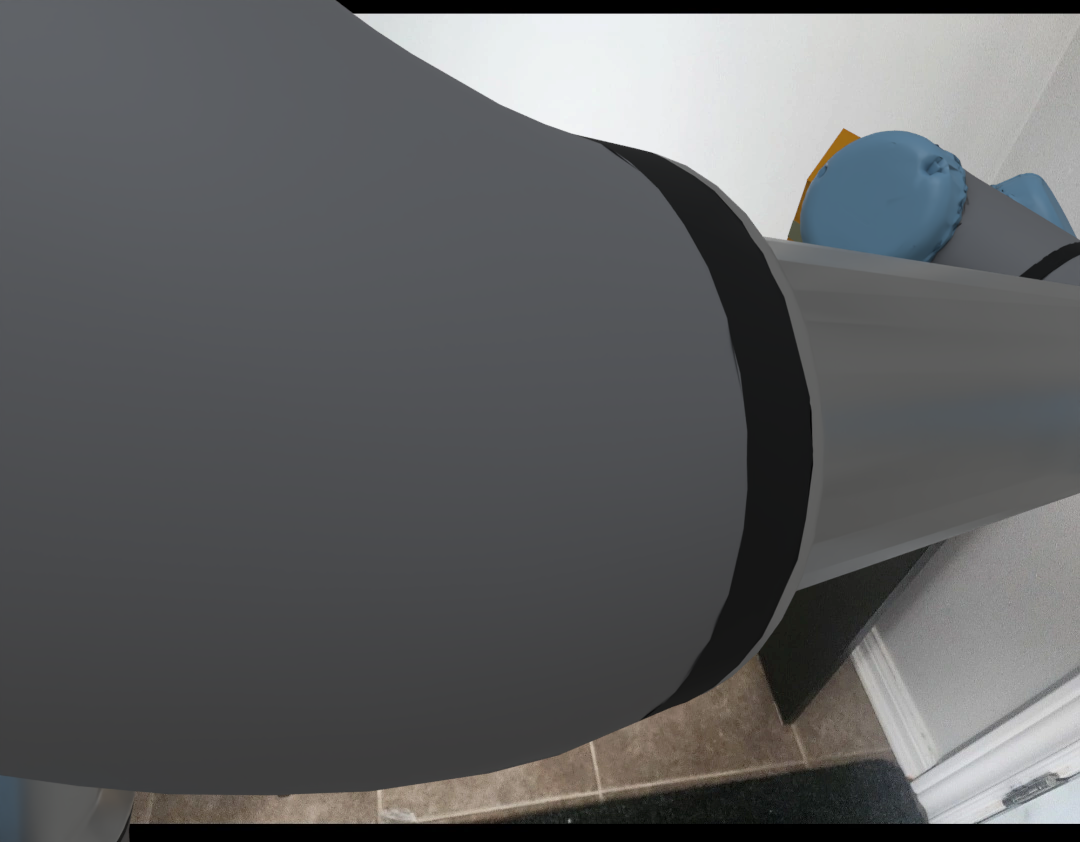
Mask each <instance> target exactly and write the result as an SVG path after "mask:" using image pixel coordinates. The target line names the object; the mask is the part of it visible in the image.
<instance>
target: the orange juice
mask: <svg viewBox="0 0 1080 842" xmlns="http://www.w3.org/2000/svg"><path fill="white" fill-rule="evenodd" d="M859 138H862V137H861V136H859V135H858V134H855V133H853V132H851V131H850V130H848V129H846V128H844V127H843V128H842V130H840V132H839V133H838V135H837V136H836V138H835V139H834V140H833V142H832V144H831V145H830V146H829V147H828V149H827V150H826V151H825V154H824V155H822V158H821V159H819V162H818V163H817V164H816V165H815V167H814V169H813V170H812V172H810V175H809V176H808V177H807V179H806V182H805V185H804V187H803V190H802V193H801V197H800V199H799V202H798V206H797V209H796V212H795V214H794V218H793V220H792V222H791V224H790V228H789V231H788V233H787V238H786V240H789V241H795V242H802V243H803V241H802V238H801V232H800V214H801V209H802V204H803V201H804V198H805V195H806V192H807V190H808V188H809V186H810V184H811V182H812V181H813V180H814V178H815V176H816V175H817V173H818V171H819V170H820V169H821V168H822V167H823V166H824V165H825V164H826V162H827V161H828V160H829V159H830V158H831V157H832V156H833V155H834V154H835V153H837V152H838V151H839V150H841V149H842V148H844V147H845V146H846V145H848V144H850V143H851V142H853V141H855V140H857V139H859Z"/></svg>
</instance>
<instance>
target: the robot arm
mask: <svg viewBox="0 0 1080 842" xmlns="http://www.w3.org/2000/svg"><path fill="white" fill-rule="evenodd" d="M800 232H801V238H802V241H803V243H802V242H795V241H789V240H787V239H782V238H776V237H768V236H763V235H762V233H761V231H759V229H758V227H757V226H756V225H755V223H754V222H753V221H752V220H751V218H750V216H748V214H747V213H746V212H745V211H744V210H743V209H742V208H741V207H740V206H739V205H738V204H737V203H736V202H735V201H734V200H733V199H732V198H731V197H730V196H729V195H728V194H727V193H725V192H724V191H723V189H721V188H720V187H719V186H718V185H717V184H715V183H714V182H713V181H711V180H709V179H708V178H706V177H705V176H703V175H702V174H700V173H699V172H697V171H696V170H694V169H692V168H691V167H690V166H688V165H686V164H683V163H681V162H679V161H676V160H674V159H671V158H668V157H666V156H664V155H661V154H658V153H656V152H652V151H648V150H645V149H640V148H636V147H632V146H628V145H624V144H619V143H614V142H610V141H606V140H601V139H597V138H593V137H589V136H584V135H580V134H575V133H571V132H569V131H565V130H563V129H560V128H557V127H554V126H552V125H550V124H549V125H548V124H546V123H544V122H541V121H539V120H537V119H535V118H532V117H530V116H528V115H525V114H523V113H521V112H518V111H515V110H513V108H509V107H507V106H504V105H503V104H500V103H499V102H497V101H495V100H493V99H491V98H490V97H489V96H486V95H485V94H483V93H481V92H480V91H478V90H476V89H475V88H472V87H470V86H469V85H467V84H466V83H464V82H462V81H460V80H458V79H457V78H455V77H453V76H451V75H450V74H448V73H446V72H445V71H443V70H441V69H440V68H438V67H436V66H434V65H432V64H430V63H429V62H427V61H426V60H423V59H422V58H420V57H419V56H417V55H415V54H413V53H411V52H410V51H409V50H407V49H406V48H404V47H402V46H401V45H399V44H398V43H396V42H395V41H393V40H392V39H391V38H389V37H387V36H386V35H384V34H383V33H381V32H380V31H378V30H376V29H375V28H374V27H372V26H371V25H370V24H368V23H367V22H366V21H364V20H362V19H361V18H360V17H358V16H357V15H356V14H354V13H353V12H352V11H350V10H349V9H348V8H347V7H345V6H344V5H342V4H341V3H340V2H339V1H337V0H0V842H130V826H131V819H132V814H133V809H134V803H135V798H136V792H139V793H150V794H159V795H160V794H161V795H183V796H184V795H187V796H188V795H191V796H192V795H194V796H195V795H197V796H198V795H200V796H287V795H288V796H289V795H313V794H315V795H316V794H339V793H340V794H341V793H342V794H343V793H366V792H369V793H370V792H376V791H381V790H389V789H390V790H391V789H397V788H401V787H409V786H416V785H422V784H429V783H434V782H435V783H436V782H442V781H449V780H455V779H461V778H467V777H475V776H482V775H487V774H488V775H489V774H492V773H496V772H500V771H501V772H502V771H505V770H508V769H512V768H515V767H519V766H525V765H528V764H530V763H531V764H532V763H535V762H539V761H542V760H546V759H547V760H548V759H551V758H554V757H558V756H562V755H563V754H565V753H568V752H570V751H572V750H575V749H577V748H579V747H582V746H584V745H586V744H589V743H592V742H594V741H596V740H598V739H601V738H603V737H605V736H608V735H610V734H613V733H615V732H617V731H620V730H622V729H624V728H627V727H629V726H632V725H634V724H637V723H639V722H641V721H643V720H646V719H648V718H650V717H653V716H655V715H658V714H660V713H662V712H664V711H667V710H670V709H672V708H674V707H677V706H680V705H683V704H686V703H688V702H690V701H692V700H694V699H696V698H697V697H700V696H702V695H705V694H707V693H708V692H710V691H712V690H713V689H715V688H717V687H718V686H720V685H722V684H723V683H724V682H727V680H730V679H731V678H732V677H734V676H735V675H736V674H737V673H738V672H739V671H740V670H741V669H742V668H743V667H745V665H746V664H747V663H749V661H751V660H752V659H753V658H754V657H755V656H756V655H757V654H758V653H759V652H760V651H761V649H762V648H763V647H764V645H765V644H766V642H767V641H768V640H769V638H770V637H771V635H772V634H773V633H774V631H775V630H776V629H777V627H778V626H779V624H780V623H781V621H782V620H783V618H784V616H785V614H786V612H787V610H788V608H789V606H790V604H791V602H792V600H793V598H794V596H795V594H796V592H797V591H800V590H803V589H806V588H809V587H812V586H815V585H818V584H821V583H823V582H827V581H829V580H832V579H833V580H834V579H836V578H838V577H841V576H843V575H847V574H850V573H852V572H856V571H859V570H862V569H864V568H868V567H870V566H873V565H876V564H879V563H882V562H885V561H887V560H891V559H893V558H896V557H899V556H902V555H905V554H908V553H911V552H914V551H916V550H919V549H922V548H925V547H928V546H931V545H933V544H934V545H935V544H937V543H940V542H942V541H946V540H948V539H951V538H955V537H957V536H960V535H963V534H965V533H969V532H971V531H974V530H977V529H980V528H983V527H986V526H989V525H992V524H994V523H997V522H1001V521H1003V520H1006V519H1009V518H1012V517H1015V516H1018V515H1020V514H1024V513H1027V512H1029V511H1033V510H1035V509H1038V508H1040V507H1043V506H1047V505H1049V504H1052V503H1056V502H1058V501H1061V500H1064V499H1067V498H1070V497H1074V496H1075V495H1078V494H1080V238H1078V237H1077V235H1076V233H1075V231H1074V229H1073V227H1072V225H1071V223H1070V221H1069V219H1068V217H1067V216H1066V213H1065V212H1064V210H1063V207H1062V206H1061V205H1060V203H1059V200H1058V199H1057V197H1056V196H1055V194H1054V192H1053V191H1052V189H1051V188H1050V186H1049V185H1048V183H1047V181H1045V179H1044V178H1043V177H1042V176H1040V175H1039V174H1037V173H1034V172H1025V173H1020V174H1017V175H1015V176H1012V177H1011V178H1009V179H1006V180H1003V181H1001V182H999V183H997V184H988V183H987V182H985V181H983V180H981V179H980V178H978V177H977V176H975V175H974V174H972V173H971V172H969V171H968V170H967V169H965V168H964V167H963V165H962V163H961V160H960V158H959V157H957V155H955V154H954V153H953V152H950V151H948V150H946V149H943V148H942V147H940V144H937V143H934V142H933V141H931V140H930V139H928V137H925V136H924V135H920V134H917V133H914V132H910V131H905V130H883V131H882V130H881V131H878V132H877V131H876V132H874V133H870V134H868V135H864V136H862V137H861V138H859V139H857V140H855V141H853V142H851V143H850V144H848V145H846V146H845V147H844V148H842V149H841V150H839V151H838V152H837V153H835V154H834V155H833V156H832V157H831V158H830V159H829V160H828V161H827V162H826V164H825V165H824V166H823V167H822V168H821V169H820V170H819V171H818V173H817V175H816V176H815V178H814V180H813V181H812V182H811V184H810V186H809V188H808V190H807V192H806V195H805V198H804V201H803V204H802V209H801V214H800Z"/></svg>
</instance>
